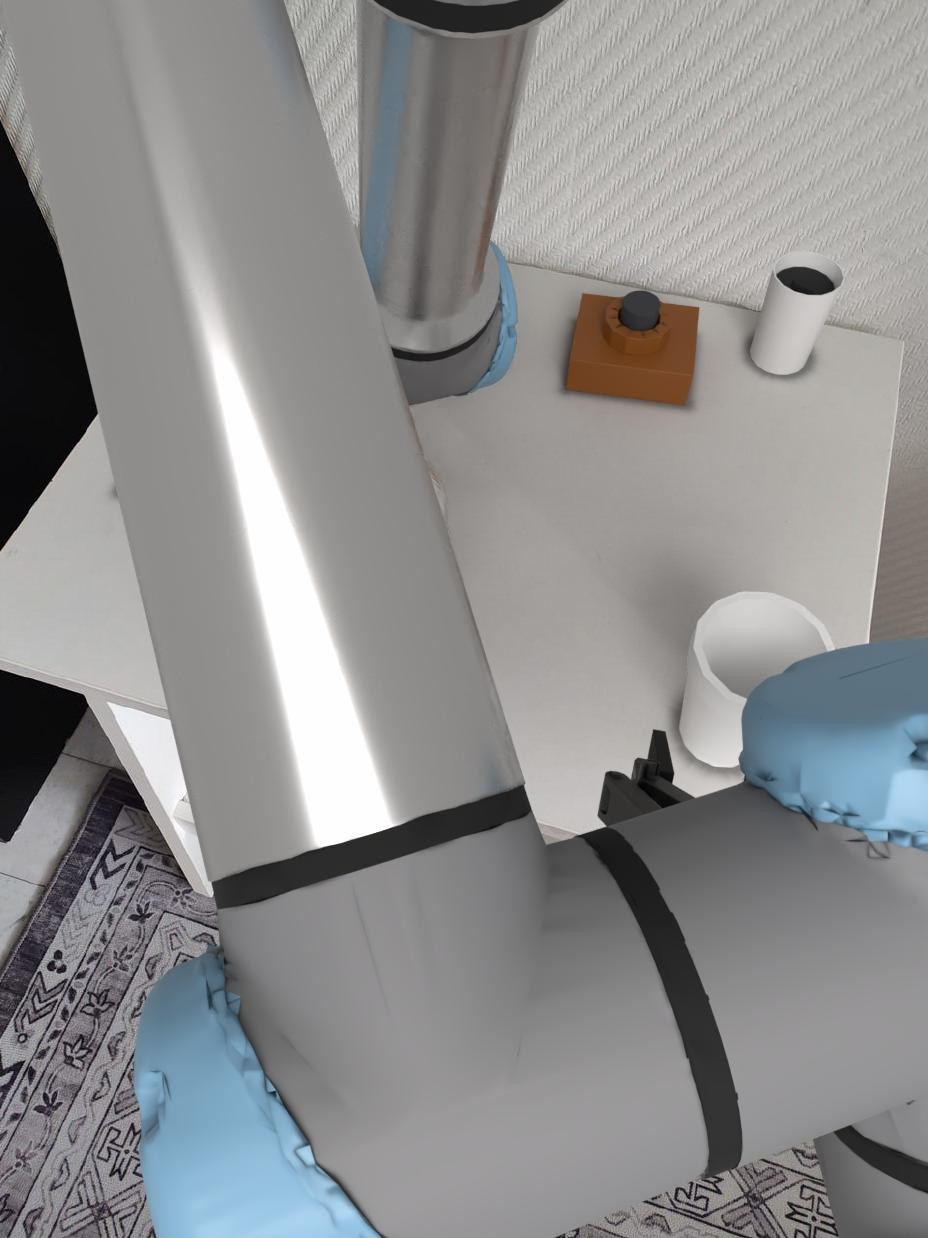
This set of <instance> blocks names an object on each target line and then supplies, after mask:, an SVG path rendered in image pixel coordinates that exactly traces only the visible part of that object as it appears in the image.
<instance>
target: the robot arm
mask: <svg viewBox="0 0 928 1238" xmlns="http://www.w3.org/2000/svg"><path fill="white" fill-rule="evenodd" d="M568 2H569V0H355V6H356V7H355V9H356V12H355V13H356V14H355V16H356V19H355V20H356V74H357V75H356V76H357V78H356V79H357V81H356V82H357V83H356V84H357V86H356V87H357V144H358V146H357V149H358V150H357V151H358V153H357V155H358V212H359V213H358V214H359V217H358V218H359V221H358V222H359V224H358V225H357V226H356V227H354V224H353V220H352V216H351V213H350V210H349V208H348V204H347V201H346V196H345V194H344V191H343V187H342V185H341V182H340V177H339V175H338V171H337V168H336V165H335V161H334V159H333V155H332V151H331V149H330V145H329V142H328V139H327V136H326V133H325V129H324V126H323V122H322V120H321V116H320V113H319V110H318V107H317V104H316V100H315V97H314V93H313V89H312V87H311V85H310V80H309V77H308V74H307V71H306V68H305V65H304V61H303V58H302V55H301V51H300V49H299V45H298V42H297V39H296V35H295V33H294V29H293V26H292V22H291V19H290V16H289V12H288V10H287V6H286V3H285V0H0V28H1V29H2V30H3V31H4V32H6V34H8V35H9V40H10V43H11V44H10V45H11V48H12V53H13V57H14V60H15V66H16V69H17V74H18V78H19V82H20V86H21V87H20V88H21V91H22V95H23V99H24V103H25V107H26V112H27V117H28V121H29V125H30V130H31V133H32V137H33V142H34V145H35V150H36V154H37V158H38V163H39V168H40V171H41V176H42V179H43V184H44V189H45V192H46V197H47V202H48V204H49V206H48V207H49V210H50V214H51V218H52V223H53V226H54V231H55V235H56V239H57V243H58V248H59V251H60V258H61V261H62V265H63V269H64V274H65V278H66V282H67V287H68V291H69V295H70V299H71V303H72V308H73V311H74V312H73V313H74V316H75V321H76V325H77V329H78V333H79V337H80V342H81V346H82V352H83V355H84V360H85V363H86V368H87V371H88V375H89V380H90V384H91V388H92V394H93V397H94V403H95V405H96V410H97V415H98V417H99V422H100V427H101V430H102V436H103V440H104V445H105V448H106V453H107V457H108V461H109V464H110V465H109V466H110V470H111V474H112V478H113V483H114V487H115V490H116V491H115V492H116V495H117V499H118V503H119V508H120V512H121V517H122V521H123V525H124V529H125V533H126V538H127V543H128V546H129V551H130V554H131V555H130V556H131V559H132V563H133V568H134V572H135V576H136V581H137V584H138V589H139V593H140V597H141V601H142V606H143V610H144V614H145V618H146V623H147V627H148V631H149V636H150V640H151V643H152V648H153V653H154V657H155V661H156V665H157V670H158V674H159V679H160V683H161V687H162V691H163V696H164V700H165V704H166V708H167V712H168V716H169V721H170V725H171V729H172V734H173V738H174V743H175V746H176V751H177V756H178V760H179V763H180V768H181V773H182V776H183V777H182V778H183V780H184V786H185V789H186V794H187V797H188V800H189V801H188V802H189V806H190V810H191V815H192V818H193V823H194V828H195V832H196V837H197V840H198V844H199V848H200V853H201V857H202V861H203V865H204V870H205V874H206V878H207V879H206V880H207V881H208V882H210V884H211V887H212V892H213V897H214V902H215V906H216V912H217V913H216V914H217V915H216V916H217V928H218V929H217V930H218V941H219V945H216V946H215V945H212V944H207V946H206V949H205V952H203V953H201V954H200V955H199V956H197V957H193V958H191V959H189V960H186V961H184V962H181V963H179V964H176V965H175V966H172V967H171V968H169V969H168V970H167V971H166V972H165V973H164V974H163V975H162V976H161V978H160V979H159V980H158V981H157V982H156V983H155V984H154V985H153V986H152V987H151V989H150V991H149V992H148V994H147V996H146V999H145V1001H144V1002H143V1003H144V1004H143V1006H142V1010H141V1013H140V1016H139V1021H138V1027H137V1032H136V1039H135V1046H134V1056H133V1081H134V1082H133V1083H134V1086H133V1087H134V1088H133V1089H134V1095H135V1097H136V1100H137V1103H138V1107H139V1108H138V1109H139V1113H140V1121H141V1123H140V1125H141V1126H140V1127H141V1129H140V1134H141V1135H140V1142H139V1146H138V1158H139V1164H140V1172H141V1176H142V1180H143V1187H144V1191H145V1196H146V1200H147V1205H148V1211H149V1215H150V1219H151V1222H152V1226H153V1230H154V1234H155V1237H156V1238H557V1237H559V1236H562V1235H564V1234H567V1233H570V1232H571V1231H574V1230H577V1229H579V1228H581V1227H585V1226H587V1225H590V1224H591V1223H593V1222H596V1221H599V1220H601V1219H603V1218H606V1217H608V1216H611V1215H614V1214H616V1213H618V1212H621V1211H623V1210H625V1209H628V1208H631V1207H633V1206H635V1205H638V1204H640V1203H642V1202H645V1201H647V1200H649V1199H653V1198H655V1197H657V1196H660V1195H662V1194H665V1193H667V1192H669V1191H672V1190H674V1189H677V1188H679V1187H682V1186H684V1185H687V1184H688V1183H691V1182H694V1181H697V1182H698V1181H699V1180H701V1181H704V1180H708V1179H710V1178H713V1177H716V1176H717V1175H720V1174H723V1173H725V1172H728V1171H730V1170H731V1171H733V1170H736V1169H738V1168H742V1167H744V1166H747V1165H749V1164H752V1163H754V1162H757V1161H760V1160H762V1159H765V1158H768V1157H770V1156H773V1155H776V1154H778V1153H780V1152H783V1151H786V1150H788V1149H791V1148H794V1147H797V1146H799V1145H802V1144H804V1143H807V1142H810V1141H812V1142H813V1146H814V1150H815V1154H816V1157H817V1161H818V1166H819V1169H820V1172H821V1173H820V1174H821V1177H822V1181H823V1185H824V1189H825V1193H826V1196H827V1199H828V1203H829V1204H828V1205H829V1207H830V1211H831V1214H832V1217H833V1222H834V1224H835V1229H836V1232H837V1234H838V1238H928V637H927V638H926V637H925V638H924V637H923V638H921V637H919V638H904V639H892V640H882V641H875V642H869V643H862V644H857V645H851V646H846V647H841V648H837V649H836V648H835V649H836V650H832V651H828V652H824V653H821V654H817V655H814V656H811V657H808V658H805V659H802V660H800V661H797V662H795V663H793V664H792V665H790V666H789V667H788V668H787V669H786V670H784V671H783V673H782V674H779V675H775V676H772V677H769V678H767V679H765V680H764V681H763V682H762V683H761V684H759V685H758V686H757V687H756V688H755V689H754V690H753V691H752V692H751V694H750V695H749V696H748V699H747V701H746V703H745V706H744V708H743V711H742V717H741V724H742V742H743V750H742V751H741V753H740V755H739V758H738V760H739V764H740V765H739V768H740V771H741V773H742V774H743V775H744V777H743V781H741V782H739V783H737V784H735V785H732V786H728V787H725V788H723V789H719V790H716V791H713V792H710V793H706V794H703V795H700V796H698V797H695V796H693V795H692V794H690V793H688V792H687V791H685V790H683V789H681V788H680V787H679V786H676V785H675V784H673V782H674V777H675V769H674V765H673V760H672V759H673V758H672V756H671V750H670V746H669V742H668V736H667V731H664V730H660V729H654V728H653V729H652V733H651V737H650V742H649V748H648V753H647V758H643V757H637V758H635V759H633V760H634V761H633V765H632V771H631V777H629V776H628V775H626V773H625V774H624V773H622V772H621V771H617V770H608V771H606V772H605V773H604V777H603V781H602V782H603V783H602V788H601V793H600V798H599V804H598V810H597V817H598V820H600V821H601V823H603V824H604V825H605V826H603V827H600V828H596V829H594V830H590V831H587V832H583V833H580V834H576V835H574V836H573V837H571V838H567V839H563V840H559V841H556V842H552V843H546V841H545V838H544V837H543V834H542V832H541V829H540V826H539V824H538V822H537V819H536V817H535V814H534V811H533V809H532V806H531V803H530V800H529V797H528V794H527V790H526V787H525V785H526V781H525V777H524V773H523V769H522V767H521V764H520V760H519V757H518V754H517V752H516V748H515V745H514V741H513V738H512V734H511V731H510V729H509V725H508V722H507V719H506V716H505V713H504V709H503V706H502V701H501V700H500V696H499V693H498V690H497V686H496V682H495V680H494V677H493V673H492V671H491V670H492V669H491V666H490V664H489V661H488V657H487V654H486V650H485V647H484V644H483V641H482V637H481V635H480V631H479V628H478V625H477V622H476V619H475V615H474V611H473V609H472V606H471V603H470V599H469V596H468V593H467V589H466V586H465V583H464V579H463V576H462V574H461V573H462V572H461V569H460V567H459V563H458V561H457V560H458V559H457V556H456V553H455V550H454V547H453V544H452V539H451V540H450V537H451V536H450V537H449V534H448V531H447V527H446V524H445V521H444V518H443V514H442V511H441V508H440V505H439V501H438V498H437V495H436V492H435V489H434V485H433V482H432V479H431V476H430V472H429V469H428V466H427V463H426V459H427V458H426V457H425V454H424V453H425V452H424V449H423V447H422V444H421V440H420V438H419V434H418V431H417V428H416V424H415V421H414V417H413V414H412V411H411V408H410V406H415V405H420V404H423V403H427V402H428V403H429V402H432V401H436V400H440V399H445V398H450V397H463V396H468V395H469V394H473V393H475V392H476V391H478V390H480V389H482V388H486V387H489V386H493V385H494V384H497V383H498V382H499V381H500V380H501V379H503V378H504V376H505V375H506V374H507V373H508V371H509V369H510V368H511V366H512V363H513V360H514V358H515V355H516V349H517V343H518V333H517V331H516V325H517V324H518V323H519V314H518V313H519V312H518V311H519V310H518V302H517V301H518V300H517V294H516V288H515V285H514V284H515V283H514V280H513V276H512V273H511V270H510V267H509V265H508V262H507V260H506V257H505V256H504V253H503V251H502V250H501V249H500V247H499V246H498V245H497V244H496V243H495V242H494V241H493V240H491V238H492V234H493V230H494V225H495V221H496V216H497V212H498V207H499V204H500V200H501V199H500V198H501V195H502V190H503V185H504V182H505V178H506V173H507V169H508V164H509V161H510V156H511V152H512V148H513V143H514V139H515V134H516V130H517V125H518V121H519V117H520V113H521V108H522V103H523V100H524V96H525V90H526V87H527V82H528V79H529V74H530V69H531V64H532V61H533V57H534V52H535V48H536V43H537V39H538V34H539V31H540V25H541V23H542V22H543V21H546V19H548V18H550V17H551V16H553V15H555V14H556V13H557V12H558V11H560V9H562V7H564V6H565V5H566V4H567V3H568ZM425 458H426V459H425Z"/></svg>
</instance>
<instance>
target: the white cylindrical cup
mask: <svg viewBox="0 0 928 1238" xmlns="http://www.w3.org/2000/svg"><path fill="white" fill-rule="evenodd" d="M844 272H845V271H844V269H843V267H842V266H840V264H838V262H837V261H836V260H834V259H832V258H831V257H829V256H827V255H825V254H823V253H819V252H815V251H811V250H795V251H791V252H788V253H785V254H783V255H781V256H780V257H779V258H777V259H776V260H775V262H774V265H773V267H772V271H771V273H770V277H769V281H768V285H767V287H766V290H765V291H766V292H765V296H764V299H763V303H762V305H761V306H762V307H761V310H760V313H759V316H758V320H757V324H756V327H755V332H754V335H753V338H752V343H751V346H750V349H749V353H750V359H751V360H752V362H753V363H754V364H755V365H756V367H758V368H759V369H762V371H765V372H767V373H769V374H773V375H777V376H778V375H779V376H780V375H781V376H782V375H783V376H784V375H786V376H788V375H792V374H794V373H798V372H799V371H800V370H802V369H803V368H804V367H805V366H806V363H807V361H808V359H809V357H810V355H811V353H812V350H813V348H814V346H815V344H816V342H817V340H818V338H819V336H820V334H821V332H822V330H823V328H824V325H825V324H826V322H827V320H828V317H829V316H830V313H831V311H832V308H833V307H834V305H835V302H836V301H837V298H838V297H839V294H840V293H841V290H842V288H843V286H844V282H845V280H846V277H845V273H844Z"/></svg>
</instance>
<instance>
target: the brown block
mask: <svg viewBox="0 0 928 1238" xmlns="http://www.w3.org/2000/svg"><path fill="white" fill-rule="evenodd" d="M625 296H626V295H623V296H619V297H618V296H617V297H616V296H611V295H610V296H609V295H602V294H593V293H584V292H582V293H581V298H580V303H579V308H578V312H577V320H576V323H575V327H574V334H573V338H572V339H573V340H572V344H571V350H570V354H569V359H568V369H567V377H566V378H567V379H566V386H565V390H566V391H574V392H580V393H587V394H594V395H595V394H596V395H603V396H609V397H618V398H625V399H632V400H639V401H640V400H641V401H648V402H656V403H663V404H672V405H679V406H686V403H687V401H688V400H687V399H688V397H689V393H690V389H691V385H692V382H693V380H694V379H693V378H694V373H695V363H696V362H695V361H696V352H697V351H696V350H697V338H698V330H699V329H698V327H699V317H700V316H699V315H700V306H694V305H686V304H676V303H669V302H663V301H661V300H660V310H659V314H658V319H657V323H656V325H655V327H654V328H652V329H651V330H647V331H643V332H642V331H634V330H630V329H628V328H627V327H625V326H623V325H622V323H621V321H620V315H621V309H622V303H623V299H624V297H625Z"/></svg>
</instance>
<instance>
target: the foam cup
mask: <svg viewBox="0 0 928 1238" xmlns="http://www.w3.org/2000/svg"><path fill="white" fill-rule="evenodd" d="M689 639H690V640H689V646H688V652H687V658H686V663H685V665H686V667H687V674H686V676H687V677H686V681H685V687H684V694H683V701H682V706H681V712H680V718H679V725H678V726H679V727H678V731H679V733H680V736H681V739H682V743H683V746H684V747H686V749H687V750H688V752H690V753H691V754H692V755H693V756H694V757H695V759H696V760H699V761H700V762H703V763H705V764H707V765H710V766H712V767H713V768H732V769H733V768H735V767H737V766H740V764H739V760H738V758H739V755H740V753H741V751H742V750H743V742H742V724H741V717H742V711H743V708H744V706H745V703H746V701H747V699H748V696H749V695H750V694H751V692H752V691H753V690H754V689H755V688H756V687H757V686H758V685H759V684H761V683H762V682H763V681H764V680H765V679H767V678H769V677H772V676H775V675H779V674H782V673H783V671H784V670H786V669H787V668H788V667H789V666H790V665H792V664H793V663H795V662H797V661H800V660H802V659H805V658H808V657H811V656H814V655H817V654H821V653H824V652H828V651H832V650H836V647H835V645H834V642H833V640H832V638H831V636H830V634H829V631H828V629H827V627H826V625H825V624H824V623H823V622H821V620H819V619H818V618H817V617H816V616H815V615H814V614H813V613H812V612H810V611H809V610H808V609H807V608H806V607H805V606H804V605H803V604H802V603H799V602H796V601H794V600H792V599H789V598H787V597H784V596H782V595H780V594H777V593H774V592H768V591H767V592H766V591H744V590H743V591H738V592H736V593H733V594H730V595H728V596H726V597H723V598H720V599H717V600H715V601H714V602H713V603H712V604H711V605H710V607H708V609H707V610H705V612H704V614H702V615H701V616H700V618H699V619H698V620H697V622H696V625H695V626H694V629H693V632H692V634H691V637H690V638H689Z"/></svg>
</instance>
